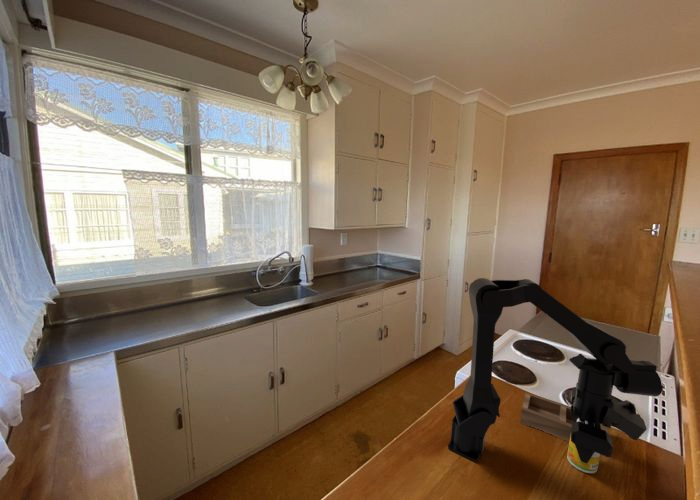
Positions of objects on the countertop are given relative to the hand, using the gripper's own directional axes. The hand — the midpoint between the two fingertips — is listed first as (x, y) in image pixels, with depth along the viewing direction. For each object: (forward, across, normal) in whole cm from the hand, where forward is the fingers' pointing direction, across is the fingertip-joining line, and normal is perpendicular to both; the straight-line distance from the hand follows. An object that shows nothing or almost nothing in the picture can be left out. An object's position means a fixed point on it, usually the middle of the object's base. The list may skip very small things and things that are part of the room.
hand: (583, 453), depth 67 cm
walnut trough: (+3, +11, +4) cm, 12 cm away
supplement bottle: (+3, 0, 0) cm, 3 cm away
